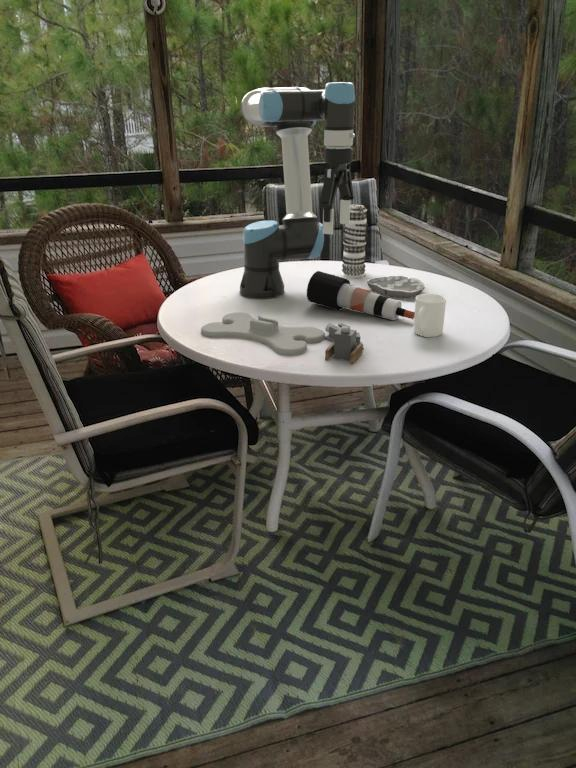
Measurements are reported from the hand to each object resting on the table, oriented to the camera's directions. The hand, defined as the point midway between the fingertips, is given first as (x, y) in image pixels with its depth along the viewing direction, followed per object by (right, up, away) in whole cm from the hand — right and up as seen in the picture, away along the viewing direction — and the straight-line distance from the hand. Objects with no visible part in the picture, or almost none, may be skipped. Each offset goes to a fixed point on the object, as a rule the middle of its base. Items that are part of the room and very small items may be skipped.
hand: (336, 228), depth 181 cm
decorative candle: (+11, -3, +61) cm, 62 cm away
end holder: (+1, -36, -8) cm, 36 cm away
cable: (+9, -21, +23) cm, 33 cm away
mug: (+26, -29, +6) cm, 39 cm away
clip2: (+4, -33, -2) cm, 33 cm away
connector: (+2, -36, -8) cm, 36 cm away
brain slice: (+24, -11, +44) cm, 51 cm away
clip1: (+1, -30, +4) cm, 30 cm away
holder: (-21, -29, +8) cm, 37 cm away
